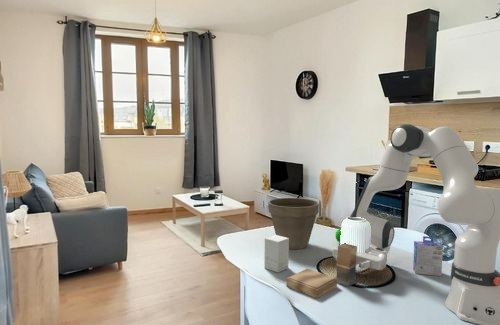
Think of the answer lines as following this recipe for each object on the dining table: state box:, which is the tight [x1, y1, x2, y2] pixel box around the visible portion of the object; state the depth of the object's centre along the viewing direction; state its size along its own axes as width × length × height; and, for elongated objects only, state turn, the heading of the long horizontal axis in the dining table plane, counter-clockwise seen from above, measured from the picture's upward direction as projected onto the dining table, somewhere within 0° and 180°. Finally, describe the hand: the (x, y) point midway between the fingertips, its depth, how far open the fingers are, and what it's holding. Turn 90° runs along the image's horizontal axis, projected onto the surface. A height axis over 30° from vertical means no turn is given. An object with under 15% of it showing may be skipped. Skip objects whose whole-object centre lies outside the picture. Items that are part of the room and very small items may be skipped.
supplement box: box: [263, 234, 290, 273], centre depth 143 cm, size 7×7×13 cm
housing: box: [335, 243, 358, 288], centre depth 130 cm, size 5×5×14 cm
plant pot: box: [267, 197, 320, 250], centre depth 173 cm, size 25×25×22 cm
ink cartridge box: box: [412, 235, 444, 277], centre depth 141 cm, size 10×6×14 cm, turn 78°
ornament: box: [335, 227, 342, 244], centre depth 176 cm, size 8×8×10 cm
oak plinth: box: [285, 268, 338, 299], centre depth 126 cm, size 13×13×3 cm
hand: (348, 262), depth 131 cm, fingers open, 8 cm apart
